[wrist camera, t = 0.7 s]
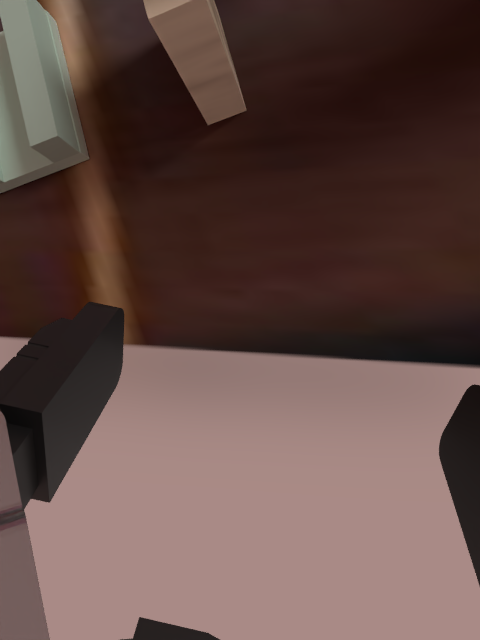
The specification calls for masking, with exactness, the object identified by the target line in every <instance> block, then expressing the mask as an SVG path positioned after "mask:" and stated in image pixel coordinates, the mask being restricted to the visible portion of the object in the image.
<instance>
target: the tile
mask: <svg viewBox="0 0 480 640" xmlns="http://www.w3.org/2000/svg"><path fill="white" fill-rule="evenodd" d="M143 1H144V5H145V8H146V12H147V16H148V19H149V21H150V23H151V25H152V26H153V28H154V30H155V32H156V34H157V35H158V37H159V39H160V41H161V42H162V44H163V46H164V48H165V50H166V51H167V53H168V55H169V57H170V59H171V60H172V62H173V64H174V66H175V67H176V69H177V71H178V73H179V75H180V76H181V78H182V80H183V82H184V83H185V85H186V87H187V89H188V91H189V92H190V94H191V96H192V98H193V99H194V101H195V103H196V105H197V107H198V108H199V110H200V112H201V114H202V116H203V117H204V119H205V121H206V123H207V124H208V125H210V124H213V123H215V122H218V121H221V120H223V119H226V118H228V117H231V116H234V115H236V114H239V113H242V112H244V111H247V110H246V106H245V103H244V100H243V96H242V93H241V89H240V86H239V82H238V79H237V76H236V72H235V69H234V65H233V62H232V58H231V55H230V52H229V48H228V45H227V41H226V38H225V34H224V31H223V28H222V24H221V21H220V17H219V14H218V11H217V8H216V5H215V2H214V0H143Z"/></svg>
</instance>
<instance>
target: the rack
mask: <svg viewBox="0 0 480 640" xmlns="http://www.w3.org/2000/svg"><path fill="white" fill-rule="evenodd" d="M0 16H1V21H2V25H3V29H4V31H2V32H0V193H2V192H5V191H8V190H10V189H13V188H15V187H18V186H21V185H23V184H26V183H28V182H31V181H34V180H36V179H39V178H41V177H44V176H47V175H49V174H52V173H54V172H57V171H60V170H62V169H65V168H67V167H70V166H73V165H75V164H78V163H80V162H83V161H86V160H88V159H89V155H88V151H87V147H86V142H85V138H84V134H83V130H82V126H81V122H80V118H79V114H78V110H77V105H76V101H75V97H74V93H73V89H72V85H71V81H70V77H69V73H68V68H67V64H66V60H65V56H64V52H63V48H62V44H61V40H60V35H59V31H58V27H57V23H56V21H55V20H54V19H53V17H52V16H51V15H50V14H49V13H48V12H47V11H45V10H44V9H43V8H42V6H41V5H40V4H39V3H38V2H37V0H0Z"/></svg>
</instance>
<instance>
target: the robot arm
mask: <svg viewBox="0 0 480 640" xmlns="http://www.w3.org/2000/svg"><path fill="white" fill-rule="evenodd" d="M123 338H124V311H123V309H121V308H117V307H112V306H108V305H103V304H98V303H94V302H89V303H87V304H86V305H85V306H84V308H83V309H82V310H81V311H80V312H79V313H78V314H77V316H76V317H75V318H74V319H73V320H69V319H65V318H61V319H59V320H57V321H55V322H53V323H51V324H49V325H47V326H45V327H43V328H41V329H40V330H39V331H38V332H37V333H36V334H35V335H34V336H33V337H32V338H31V339H30V340H29V342H28V345H25V346H24V347H23V348H22V349H21V350H20V351H19V352H18V353H17V356H16V357H13V358H12V359H11V360H10V361H9V362H8V364H6V365H5V367H4V368H3V369H2V370H1V371H0V640H50V638H49V633H48V628H47V623H46V618H45V613H44V608H43V603H42V598H41V593H40V587H39V582H38V577H37V572H36V567H35V562H34V557H33V551H32V546H31V541H30V536H29V531H28V526H27V521H26V516H25V512H24V508H25V507H26V505H27V504H28V502H29V500H30V499H36V500H41V501H45V502H50V501H51V499H52V498H53V496H54V494H55V492H56V491H57V489H58V487H59V485H60V483H61V482H62V480H63V478H64V477H65V475H66V473H67V471H68V469H69V468H70V466H71V465H72V463H73V461H74V459H75V458H76V456H77V454H78V452H79V451H80V449H81V447H82V445H83V444H84V442H85V440H86V438H87V437H88V435H89V433H90V432H91V430H92V428H93V426H94V425H95V423H96V421H97V419H98V418H99V416H100V414H101V412H102V411H103V409H104V407H105V405H106V404H107V402H108V400H109V398H110V397H111V395H112V393H113V392H114V389H115V388H116V386H117V384H118V381H119V378H120V374H121V369H122V363H123ZM439 456H440V461H441V464H442V468H443V471H444V474H445V477H446V480H447V483H448V487H449V490H450V493H451V496H452V499H453V502H454V506H455V509H456V512H457V515H458V518H459V522H460V525H461V528H462V531H463V534H464V538H465V541H466V544H467V547H468V550H469V553H470V556H471V559H472V563H473V566H474V569H475V573H476V576H477V579H478V582H479V585H480V386H479V385H472V386H470V387H469V388H468V389H467V390H466V392H465V394H464V395H463V397H462V399H461V401H460V402H459V404H458V406H457V408H456V410H455V411H454V413H453V415H452V417H451V419H450V421H449V423H448V424H447V426H446V428H445V430H444V431H443V433H442V436H441V440H440V445H439ZM122 640H123V639H122ZM124 640H219V639H218V638H216V637H214V636H212V635H211V634H209V633H206V632H201V631H197V630H193V629H188V628H184V627H180V626H176V625H171V624H167V623H162V622H158V621H154V620H149V619H145V618H141V617H140V618H139V620H138V624H137V627H136V631H135V634H134V637H133V639H124Z"/></svg>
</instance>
